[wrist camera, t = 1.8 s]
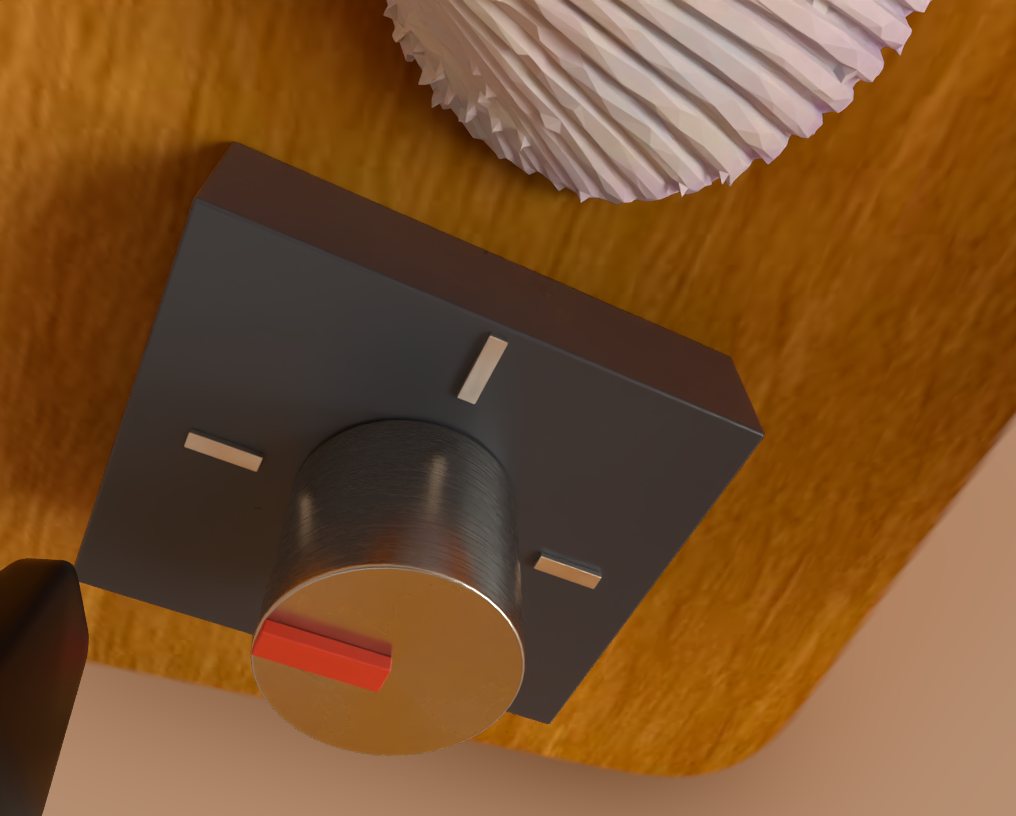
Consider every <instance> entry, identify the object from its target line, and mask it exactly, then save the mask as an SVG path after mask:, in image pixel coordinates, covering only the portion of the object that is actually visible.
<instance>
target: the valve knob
mask: <svg viewBox="0 0 1016 816" xmlns="http://www.w3.org/2000/svg"><path fill="white" fill-rule="evenodd" d="M251 665H252V669H253V674H254V678H255V680H256V683H257V685H258V688H259V690H260V692H261V693H262V695H263V697H264V698H265V700H266V701H267V703H268V704H269V705H270V706H271V707H272V709H273V710H274V711H275V712H276V713H277V714H279V716H280V717H281V718H283V719H284V720H285V721H286V722H287V723H289V724H290V725H291V726H293V727H294V728H296V729H297V730H299V731H300V732H302V733H304V734H306V735H307V736H309V737H311V738H313V739H316V740H318V741H320V742H322V743H325V744H328V745H330V746H333V747H336V748H340V749H343V750H347V751H352V752H356V753H362V754H369V755H380V756H382V755H383V756H407V755H416V754H423V753H429V752H433V751H438V750H442V749H445V748H448V747H452V746H455V745H457V744H459V743H462V742H464V741H467V740H469V739H471V738H472V737H474V736H476V735H478V734H480V733H481V732H483V731H484V730H486V729H487V728H488V727H490V726H491V725H493V724H494V723H495V722H496V721H497V720H498V719H499V718H500V717H501V716H502V715H503V714H504V713H505V712H506V711H507V709H508V708H509V707H510V706H511V704H512V702H513V701H514V699H515V697H516V696H517V694H518V692H519V689H520V687H521V684H522V681H523V677H524V672H525V645H524V627H523V609H522V591H521V573H520V555H519V536H518V518H517V504H516V498H515V493H514V491H513V488H512V485H511V482H510V480H509V479H508V477H507V475H506V473H505V471H504V470H503V469H502V467H501V466H500V465H499V463H498V462H497V461H496V460H495V459H494V458H493V457H492V456H491V455H490V454H489V453H488V451H486V450H485V449H484V448H483V447H481V446H480V445H479V444H477V443H476V442H475V441H473V440H471V439H470V438H468V437H466V436H465V435H463V434H460V433H458V432H456V431H454V430H451V429H449V428H446V427H443V426H440V425H436V424H432V423H427V422H422V421H413V420H385V421H378V422H372V423H368V424H364V425H360V426H357V427H354V428H351V429H349V430H346V431H344V432H342V433H340V434H338V435H336V436H335V437H333V438H331V439H330V440H328V441H327V442H325V443H324V444H323V445H321V446H320V447H319V448H318V449H317V450H316V451H315V452H314V453H312V454H311V455H310V457H309V458H308V459H307V460H306V462H305V463H304V464H303V466H302V467H301V469H300V471H299V473H298V474H297V476H296V479H295V482H294V484H293V487H292V491H291V494H290V498H289V502H288V506H287V510H286V514H285V517H284V521H283V525H282V529H281V533H280V536H279V540H278V544H277V548H276V552H275V556H274V559H273V563H272V567H271V571H270V575H269V579H268V582H267V586H266V590H265V594H264V598H263V601H262V605H261V609H260V613H259V617H258V621H257V624H256V628H255V632H254V636H253V641H252V647H251Z"/></svg>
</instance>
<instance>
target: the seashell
mask: <svg viewBox="0 0 1016 816" xmlns="http://www.w3.org/2000/svg"><path fill="white" fill-rule="evenodd" d="M386 1H387V4H388V6H387V8H386V10H385V12H384V14H383V15H384V16H386V17H389V18H391V19H392V20H393V23H394V26H395V29H394V32H393V35H392V37H393V39H394V41H395V42H400V45H401V48H402V51H403V54H404V57H405V60H406V62H412V61H413V60H414V59H416V61H417V63H418V64H419V66H420V68H421V69H422V74H421V77H420V80H419V83H418V85H427V84H430V86H431V88H432V90H433V92H434V93H433V96H432V108H433V107H435V106H436V105H438V104H440V105H441V107H442V109H443V110H445V109H450V108H451V109H452V110H453V112H454V113H455V114H456V116H457V117H458V122H462V123H463V125H464V126H465V127H466V129H467V130H468V132H469V133H470V134H471V136H472V137H473V138H476V139H481V140H483V141H484V142H485V143H486V144H487V145H488V146H489V147H490V148H491V149H492V150H493V151H494V152H495V153H496V155H497V157H498V158H499V159H503V158H507V159H508V160H510V161H511V162H512V163H514V164H515V165H516V166H518V167H519V168H520V169H522V170H523V171H525V172H526V173H527V174H529V175H530V174H533V173H535V172H539V173H540V174H542V175H543V176H545V177H546V178H547V179H549V180H550V181H551V182H552V183H553V184H554V186H555V187H556V188H557V189H558V190H559V191H560V190H562V189H563V188H565V187H566V188H568V189H570V190H571V191H573V192H575V193H577V195H578V197H579V199H580V201H581V202H583V201H584V200H586V199H588V198H601V199H604V200H608V201H610V202H612V203H614V204H620V203H624V202H632V201H633V200H635V199H636V200H642V201H654V200H659V199H662V198H665V197H668V196H669V195H671V194H674V193H678V192H681V196H682V197H683V195H684V194H685V193H686V194H691V193H695V192H698V191H699V190H700V189H702V188H703V187H705V186H708V185H712V183H711V182H713V181H714V180H716V179H718V178H721V182H722V184H723V183H724V181H726V182H727V184H728V185H729V186H731V184H732V183H733V182H734V180H735V179H736V178H737V177H738V176H739V175H741V174H742V173H743V172H744V171H746V170H747V169H748V167H749V166H750V165H751V163H752V161H753V160H754V159H758V158H763V159H764V161H765V162H766V163H767V164H769V163H771V162H772V161H773V160H774V159H775V158H776V157H777V156H779V155H780V153H781V152H782V151H783V149H784V148H785V147H786V145H787V143H788V139H789V138H790V136H791V135H792V134H793V135H798V136H800V137H802V138H809V137H810V136H811V135H814V134H815V132H816V130H817V129H818V128H819V127H820V126H821V125H822V124H823V119H822V113H827V112H832V111H835V112H837V113H839V112H840V111H842V110H843V109H845V108H846V107H847V106H848V105H849V104H850V103H851V102H852V101H853V94H854V91H853V86H854V85H855V83H857V82H858V81H860V80H863V81H865V82H873V80H874V79H875V77H876V76H878V75H879V74H880V72H881V71H882V69H883V66H884V61H883V58H882V55H881V52H880V50H881V49H882V48H884V47H886V46H887V47H890V48H892V49H894V50H896V52H897V53H898V54H899V55H901V52H902V49H903V47H904V44H905V42H906V41H907V39H908V38H909V36H910V35H911V31H912V29H911V28H910V27H909V25H908V23H907V20H906V18H905V17H906V16H908V15H909V14H910V13H912V12H913V11H917V12H923V13H924V12H925V10H926V8H927V6H928V4H929V2H930V1H931V0H386Z"/></svg>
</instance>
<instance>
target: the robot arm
mask: <svg viewBox="0 0 1016 816" xmlns="http://www.w3.org/2000/svg"><path fill="white" fill-rule="evenodd" d="M88 644H89V635H88V628H87V623H86V617H85V612H84V607H83V601H82V596H81V591H80V585H79V580H78V575H77V572H76V570H75V568H74V566H73V565H72V564H71V563H69V562H67V561H64V560H49V559H29V558H26V559H20V560H17V561H15V562H13V563H11V564H10V565H8V566H7V567H5V568H4V569H2V570H1V571H0V816H42V813H43V810H44V807H45V803H46V800H47V796H48V793H49V789H50V786H51V782H52V779H53V775H54V772H55V768H56V765H57V761H58V757H59V754H60V751H61V747H62V743H63V740H64V737H65V733H66V730H67V726H68V722H69V719H70V716H71V712H72V709H73V705H74V702H75V698H76V695H77V691H78V687H79V684H80V680H81V677H82V673H83V670H84V666H85V663H86V659H87V653H88Z"/></svg>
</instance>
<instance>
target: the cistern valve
mask: <svg viewBox="0 0 1016 816" xmlns="http://www.w3.org/2000/svg"><path fill="white" fill-rule="evenodd" d="M385 420H413V421H422V422H427V423H432V424H436V425H440V426H443V427H446V428H449V429H451V430H454V431H456V432H458V433H460V434H463V435H465V436H466V437H468V438H470V439H471V440H473V441H475V442H476V443H477V444H479V445H480V446H481V447H483V448H484V449H485V450H486V451H488V453H489V454H490V455H491V456H492V457H493V458H494V459H495V460H496V461H497V462H498V463H499V465H500V466H501V467H502V469H503V470H504V471H505V473H506V475H507V477H508V479H509V480H510V482H511V485H512V488H513V491H514V493H515V498H516V504H517V518H518V536H519V555H520V573H521V591H522V609H523V627H524V645H525V672H524V677H523V681H522V684H521V687H520V689H519V692H518V694H517V696H516V697H515V699H514V701H513V702H512V704H511V706H510V707H509V708H508V709H507V711H506V712H509V713H513V714H516V715H519V716H523V717H526V718H529V719H532V720H536V721H539V722H542V723H546V724H550V723H551V722H552V720H553V719H554V718H555V716H556V715H557V714H558V712H559V711H560V710H561V708H562V707H563V706H564V704H565V703H566V702H567V700H568V699H569V698H570V696H571V695H572V694H573V692H574V691H575V690H576V688H577V687H578V686H579V684H580V683H581V682H582V680H583V679H584V677H585V676H586V675H587V673H588V672H589V671H590V669H591V668H592V667H593V665H594V664H595V663H596V661H597V660H598V659H599V657H600V656H601V655H602V653H603V652H604V651H605V649H606V648H607V647H608V645H609V644H610V643H611V641H612V640H613V639H614V637H615V636H616V635H617V633H618V632H619V631H620V629H621V628H622V627H623V625H624V624H625V623H626V621H627V620H628V618H629V617H630V616H631V614H632V613H633V612H634V610H635V609H636V608H637V606H638V605H639V604H640V602H641V601H642V600H643V598H644V597H645V596H646V594H647V593H648V592H649V590H650V589H651V588H652V586H653V585H654V584H655V582H656V581H657V580H658V578H659V577H660V576H661V574H662V573H663V572H664V570H665V569H666V568H667V566H668V565H669V564H670V562H671V561H672V559H673V558H674V557H675V555H676V554H677V553H678V551H679V550H680V549H681V547H682V546H683V545H684V543H685V542H686V541H687V539H688V538H689V537H690V535H691V534H692V533H693V531H694V530H695V529H696V527H697V526H698V525H699V523H700V522H701V521H702V519H703V518H704V517H705V515H706V514H707V513H708V511H709V510H710V509H711V507H712V506H713V505H714V503H715V502H716V500H717V499H718V498H719V496H720V495H721V494H722V492H723V491H724V490H725V488H726V487H727V486H728V484H729V483H730V482H731V480H732V479H733V478H734V476H735V475H736V474H737V472H738V471H739V470H740V468H741V467H742V466H743V464H744V463H745V462H746V460H747V459H748V458H749V456H750V455H751V454H752V452H753V451H754V450H755V448H756V447H757V446H758V444H759V443H760V441H761V440H762V439H763V437H764V434H765V433H764V431H763V429H762V426H761V424H760V422H759V420H758V417H757V415H756V413H755V410H754V408H753V406H752V404H751V401H750V399H749V397H748V395H747V392H746V390H745V388H744V386H743V383H742V381H741V379H740V377H739V374H738V372H737V370H736V367H735V365H734V363H733V361H732V359H731V357H729V356H727V355H725V354H722V353H720V352H718V351H715V350H713V349H711V348H709V347H706V346H704V345H702V344H699V343H697V342H695V341H692V340H690V339H688V338H686V337H683V336H681V335H679V334H676V333H674V332H672V331H669V330H667V329H665V328H663V327H660V326H658V325H656V324H653V323H651V322H649V321H646V320H644V319H642V318H640V317H637V316H635V315H633V314H630V313H628V312H626V311H623V310H621V309H619V308H617V307H614V306H612V305H610V304H607V303H605V302H603V301H600V300H598V299H596V298H594V297H591V296H589V295H587V294H584V293H582V292H580V291H577V290H575V289H573V288H571V287H568V286H566V285H564V284H561V283H559V282H557V281H554V280H552V279H550V278H548V277H545V276H543V275H541V274H538V273H536V272H534V271H531V270H529V269H527V268H525V267H522V266H520V265H518V264H515V263H513V262H511V261H508V260H506V259H504V258H502V257H499V256H497V255H495V254H492V253H490V252H488V251H485V250H483V249H481V248H479V247H476V246H474V245H472V244H469V243H467V242H465V241H462V240H460V239H458V238H456V237H453V236H451V235H449V234H446V233H444V232H442V231H439V230H437V229H435V228H433V227H430V226H428V225H426V224H423V223H421V222H419V221H416V220H414V219H412V218H410V217H407V216H405V215H403V214H400V213H398V212H396V211H393V210H391V209H389V208H387V207H384V206H382V205H380V204H377V203H375V202H373V201H370V200H368V199H366V198H364V197H361V196H359V195H357V194H354V193H352V192H350V191H347V190H345V189H343V188H341V187H338V186H336V185H334V184H331V183H329V182H327V181H324V180H322V179H320V178H318V177H315V176H313V175H311V174H308V173H306V172H304V171H301V170H299V169H297V168H295V167H292V166H290V165H288V164H285V163H283V162H281V161H278V160H276V159H274V158H272V157H269V156H267V155H265V154H262V153H260V152H258V151H255V150H253V149H251V148H249V147H246V146H244V145H242V144H239V143H237V142H232V143H231V144H230V145H229V147H228V148H227V150H226V151H225V153H224V154H223V156H222V157H221V159H220V160H219V162H218V163H217V164H216V166H215V167H214V169H213V170H212V172H211V173H210V175H209V176H208V178H207V179H206V181H205V182H204V184H203V185H202V186H201V188H200V189H199V191H198V192H197V194H196V195H195V197H194V198H193V200H192V203H191V206H190V209H189V212H188V216H187V219H186V222H185V225H184V228H183V231H182V234H181V237H180V240H179V243H178V246H177V250H176V253H175V256H174V259H173V262H172V265H171V268H170V271H169V274H168V277H167V280H166V284H165V287H164V290H163V293H162V296H161V299H160V302H159V305H158V308H157V311H156V314H155V318H154V321H153V324H152V327H151V330H150V333H149V336H148V339H147V342H146V345H145V348H144V351H143V355H142V358H141V361H140V364H139V367H138V370H137V373H136V376H135V379H134V382H133V385H132V389H131V392H130V395H129V398H128V401H127V404H126V407H125V410H124V413H123V416H122V419H121V423H120V426H119V429H118V432H117V435H116V438H115V441H114V444H113V447H112V450H111V453H110V457H109V460H108V463H107V466H106V469H105V472H104V475H103V478H102V481H101V484H100V487H99V491H98V494H97V497H96V500H95V503H94V506H93V509H92V512H91V515H90V518H89V521H88V524H87V528H86V531H85V534H84V537H83V540H82V543H81V546H80V549H79V552H78V555H77V558H76V562H75V565H74V568H75V570H76V572H77V575H78V580H79V582H81V583H84V584H88V585H91V586H94V587H98V588H101V589H104V590H107V591H111V592H114V593H117V594H121V595H124V596H127V597H130V598H134V599H137V600H140V601H144V602H147V603H150V604H154V605H157V606H160V607H163V608H167V609H170V610H173V611H177V612H180V613H183V614H186V615H190V616H193V617H196V618H200V619H203V620H206V621H210V622H213V623H216V624H219V625H223V626H226V627H229V628H233V629H236V630H239V631H242V632H246V633H249V634H252V635H254V632H255V628H256V624H257V621H258V617H259V613H260V609H261V605H262V601H263V598H264V594H265V590H266V586H267V582H268V579H269V575H270V571H271V567H272V563H273V559H274V556H275V552H276V548H277V544H278V540H279V536H280V533H281V529H282V525H283V521H284V517H285V514H286V510H287V506H288V502H289V498H290V494H291V491H292V487H293V484H294V482H295V479H296V476H297V474H298V473H299V471H300V469H301V467H302V466H303V464H304V463H305V462H306V460H307V459H308V458H309V457H310V455H311V454H312V453H314V452H315V451H316V450H317V449H318V448H319V447H320V446H321V445H323V444H324V443H325V442H327V441H328V440H330V439H331V438H333V437H335V436H336V435H338V434H340V433H342V432H344V431H346V430H349V429H351V428H354V427H357V426H360V425H364V424H368V423H372V422H378V421H385Z"/></svg>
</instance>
